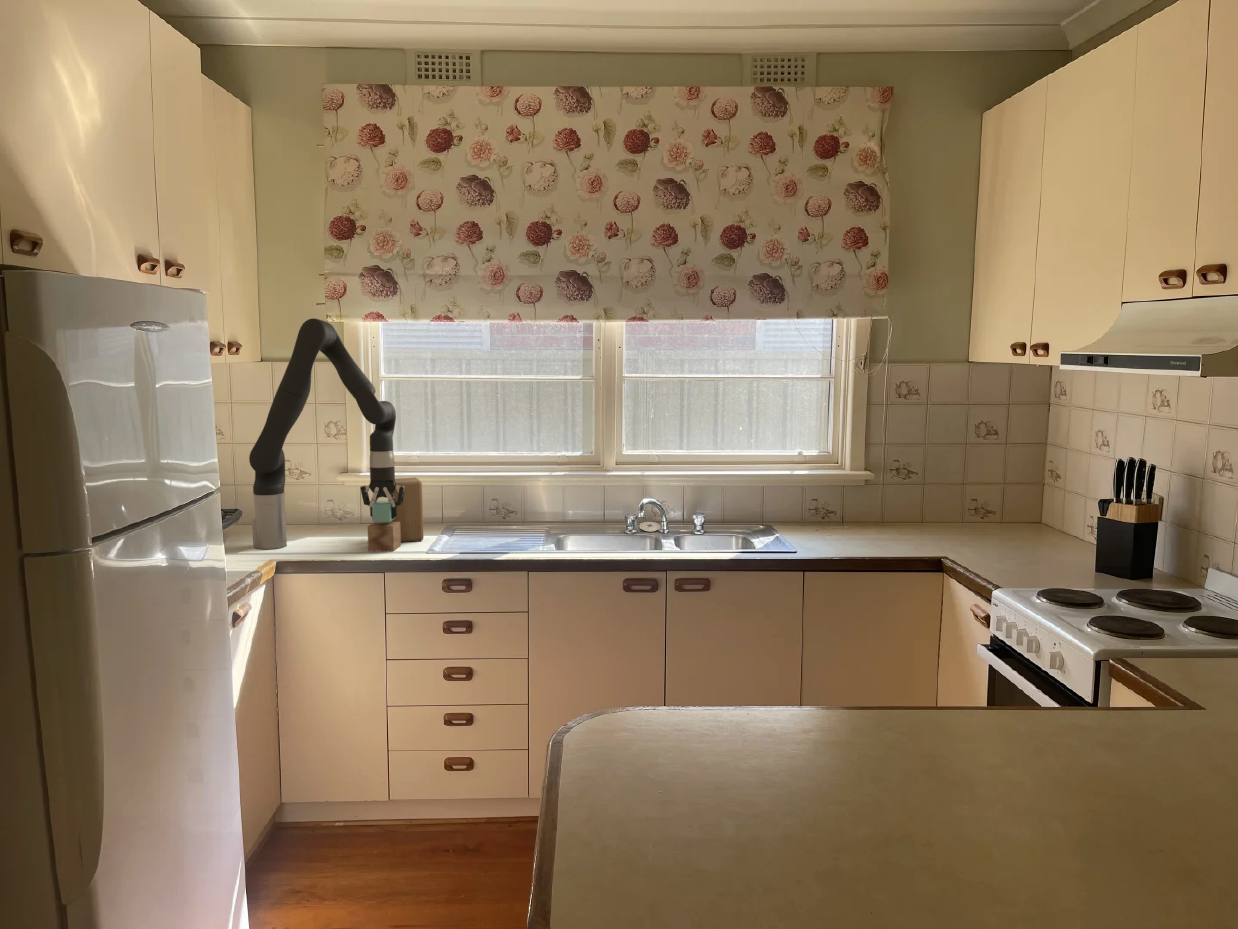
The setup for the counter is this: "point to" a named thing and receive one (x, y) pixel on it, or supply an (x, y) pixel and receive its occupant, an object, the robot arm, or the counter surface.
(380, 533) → the walnut block
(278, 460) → the robot arm
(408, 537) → the block
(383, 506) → the teal cube
